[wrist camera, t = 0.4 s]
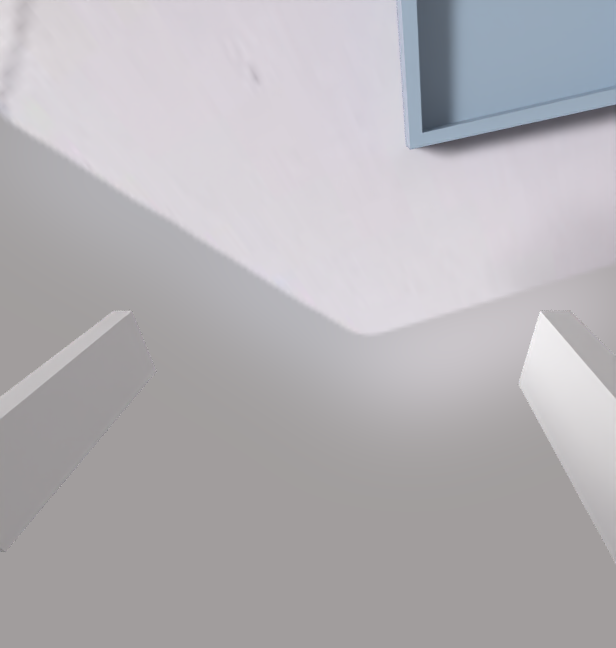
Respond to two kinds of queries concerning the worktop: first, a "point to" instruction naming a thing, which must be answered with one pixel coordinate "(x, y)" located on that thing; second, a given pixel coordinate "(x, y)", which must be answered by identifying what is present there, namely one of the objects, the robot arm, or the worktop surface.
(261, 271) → the worktop surface
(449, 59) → the bin
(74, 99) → the worktop surface
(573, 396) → the robot arm
